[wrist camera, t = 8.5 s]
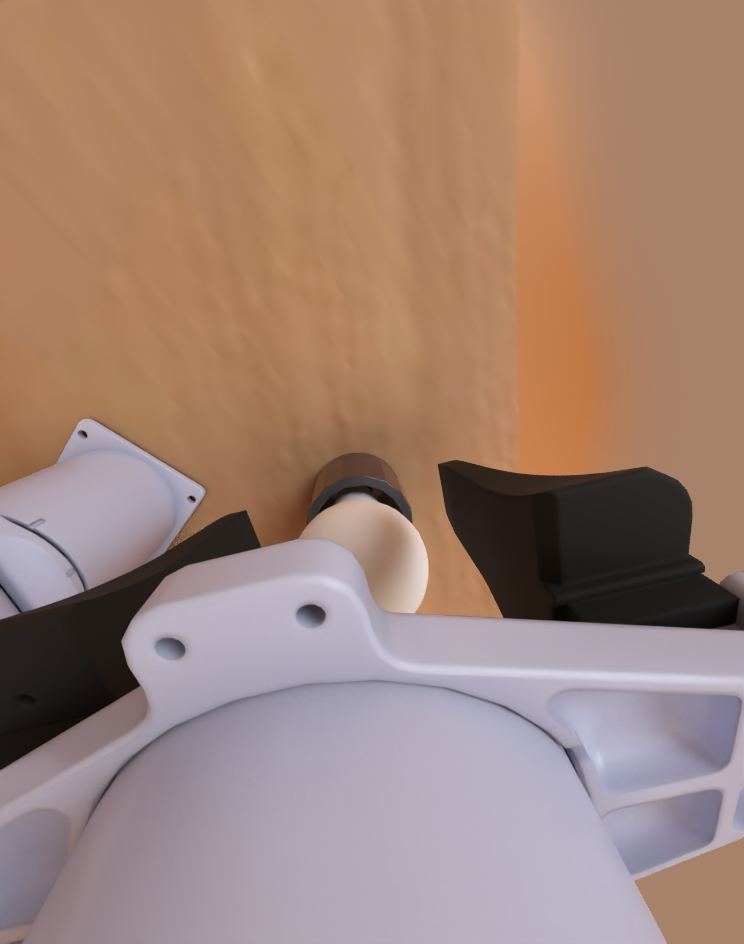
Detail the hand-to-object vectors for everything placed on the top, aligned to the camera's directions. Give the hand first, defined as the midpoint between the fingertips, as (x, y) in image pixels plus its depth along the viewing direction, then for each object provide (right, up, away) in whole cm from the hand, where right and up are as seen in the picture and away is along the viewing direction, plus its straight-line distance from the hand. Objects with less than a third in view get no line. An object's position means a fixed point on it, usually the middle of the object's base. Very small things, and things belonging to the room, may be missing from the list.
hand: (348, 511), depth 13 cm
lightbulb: (0, 0, +11) cm, 11 cm away
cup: (0, 0, +11) cm, 11 cm away
